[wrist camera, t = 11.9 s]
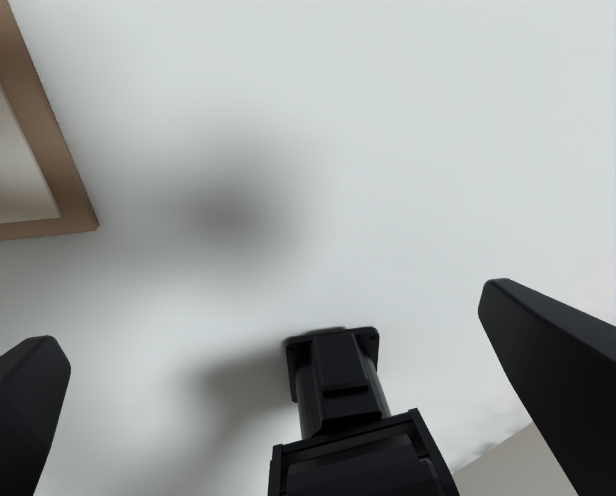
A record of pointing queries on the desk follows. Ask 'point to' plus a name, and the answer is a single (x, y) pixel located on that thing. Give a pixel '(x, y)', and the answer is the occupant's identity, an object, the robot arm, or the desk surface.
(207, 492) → the desk surface
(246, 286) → the desk surface
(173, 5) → the desk surface
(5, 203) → the clipboard
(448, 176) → the desk surface
